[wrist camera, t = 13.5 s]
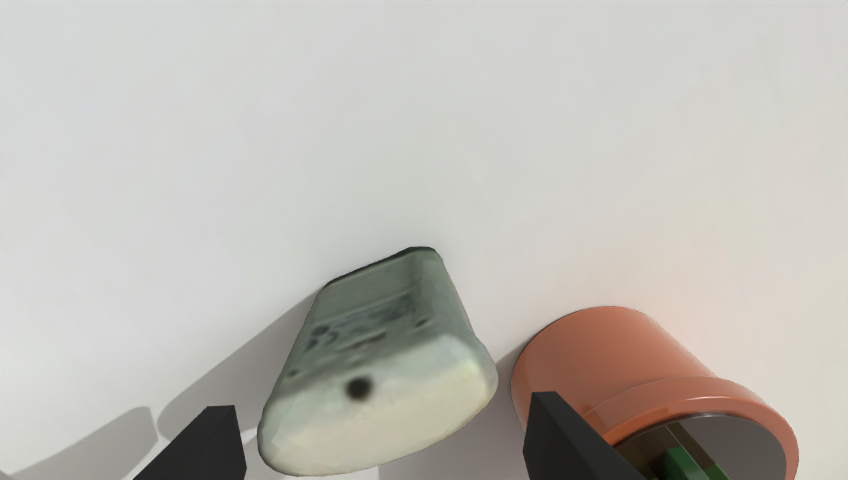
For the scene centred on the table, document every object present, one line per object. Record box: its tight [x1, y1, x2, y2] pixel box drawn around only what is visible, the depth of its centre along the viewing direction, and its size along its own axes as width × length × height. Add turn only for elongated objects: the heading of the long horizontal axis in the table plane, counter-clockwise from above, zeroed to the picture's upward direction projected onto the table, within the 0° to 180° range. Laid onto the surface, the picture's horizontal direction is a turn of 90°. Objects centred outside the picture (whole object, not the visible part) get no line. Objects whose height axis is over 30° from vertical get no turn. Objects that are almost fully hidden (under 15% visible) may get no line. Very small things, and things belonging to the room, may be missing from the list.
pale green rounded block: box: [257, 247, 499, 477], centre depth 12 cm, size 6×5×8 cm
